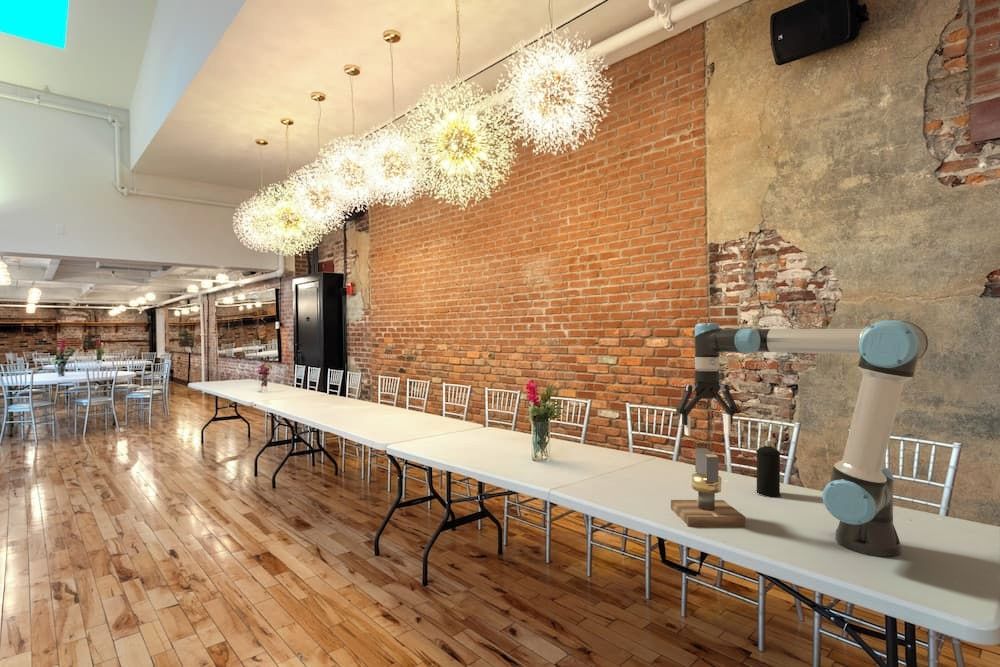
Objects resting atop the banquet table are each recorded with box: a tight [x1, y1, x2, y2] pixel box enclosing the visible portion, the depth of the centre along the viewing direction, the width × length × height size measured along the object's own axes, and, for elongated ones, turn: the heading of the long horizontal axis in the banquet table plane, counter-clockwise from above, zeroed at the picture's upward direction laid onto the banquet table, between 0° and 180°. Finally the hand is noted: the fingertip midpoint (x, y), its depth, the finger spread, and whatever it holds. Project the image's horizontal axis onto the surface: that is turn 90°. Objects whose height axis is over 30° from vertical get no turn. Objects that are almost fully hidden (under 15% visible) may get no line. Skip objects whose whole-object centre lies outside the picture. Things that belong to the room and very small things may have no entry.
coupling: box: [691, 447, 722, 494], centre depth 167 cm, size 9×12×12 cm
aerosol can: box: [755, 439, 781, 498], centre depth 191 cm, size 8×8×20 cm
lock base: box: [670, 491, 747, 527], centre depth 167 cm, size 16×18×9 cm
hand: (707, 434), depth 167 cm, fingers open, 13 cm apart
